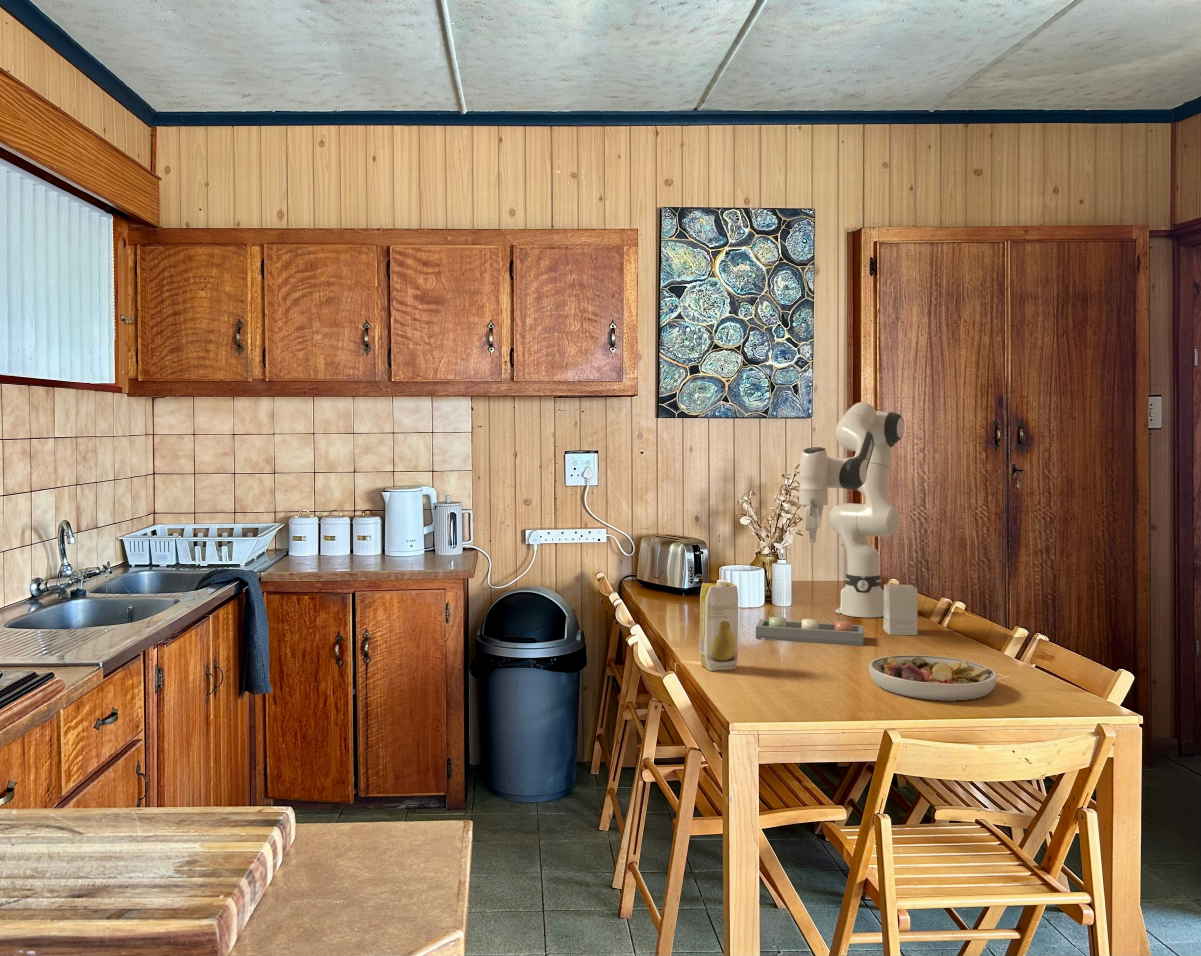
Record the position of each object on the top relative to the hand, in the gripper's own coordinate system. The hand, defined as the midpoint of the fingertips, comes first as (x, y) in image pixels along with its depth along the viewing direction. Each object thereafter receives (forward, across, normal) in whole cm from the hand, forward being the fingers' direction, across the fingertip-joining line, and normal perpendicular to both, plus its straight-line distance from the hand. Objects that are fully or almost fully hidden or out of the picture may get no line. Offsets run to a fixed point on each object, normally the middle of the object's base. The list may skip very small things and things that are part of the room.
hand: (812, 542), depth 296 cm
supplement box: (+29, +12, -27) cm, 42 cm away
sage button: (+28, -6, +10) cm, 30 cm away
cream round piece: (+28, -6, 0) cm, 28 cm away
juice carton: (+29, -52, +21) cm, 63 cm away
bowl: (+30, -55, -33) cm, 71 cm away
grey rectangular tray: (+29, -6, 0) cm, 30 cm away
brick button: (+28, -6, -10) cm, 30 cm away
